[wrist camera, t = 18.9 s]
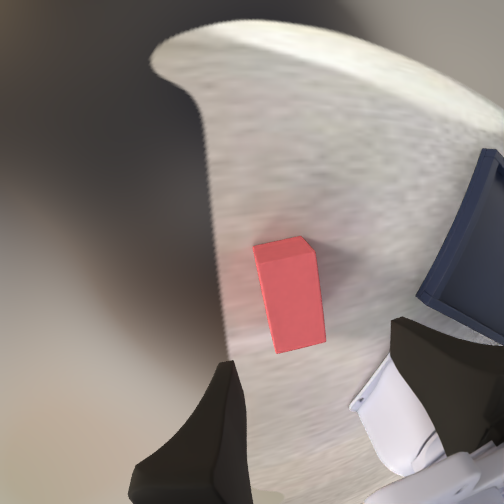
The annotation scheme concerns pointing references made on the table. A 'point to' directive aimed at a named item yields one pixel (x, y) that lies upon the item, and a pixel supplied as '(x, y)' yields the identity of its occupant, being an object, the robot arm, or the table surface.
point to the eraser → (291, 293)
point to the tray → (473, 255)
